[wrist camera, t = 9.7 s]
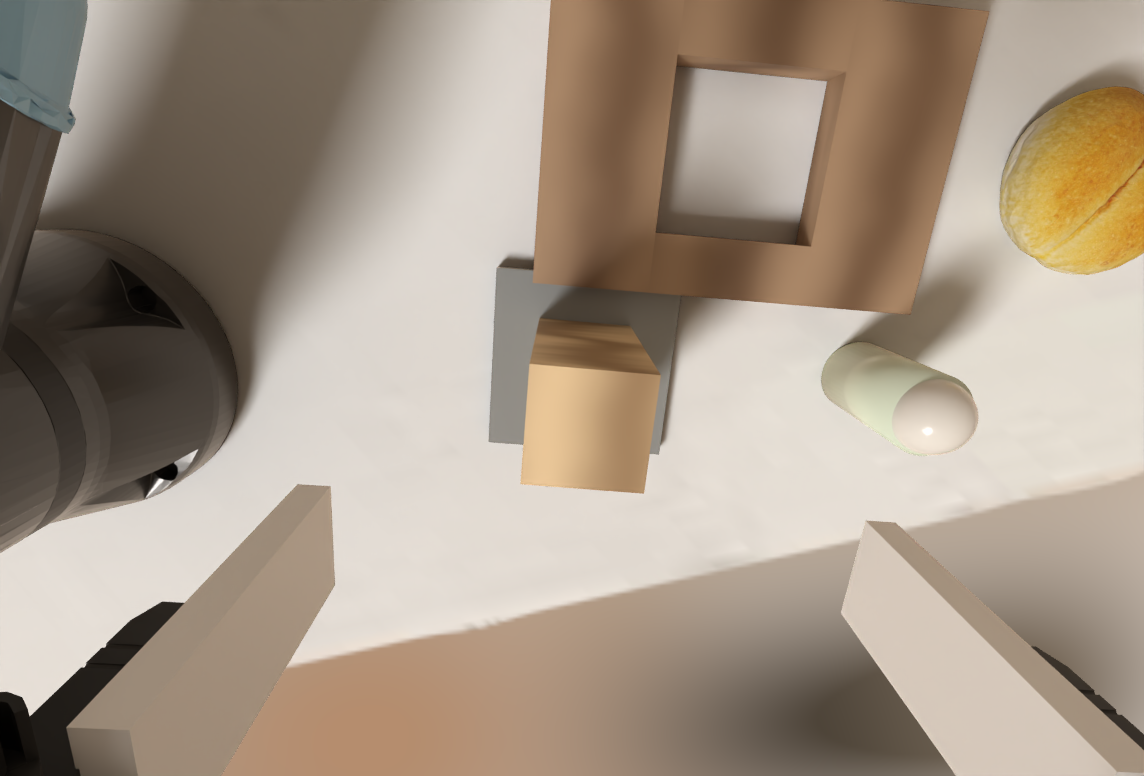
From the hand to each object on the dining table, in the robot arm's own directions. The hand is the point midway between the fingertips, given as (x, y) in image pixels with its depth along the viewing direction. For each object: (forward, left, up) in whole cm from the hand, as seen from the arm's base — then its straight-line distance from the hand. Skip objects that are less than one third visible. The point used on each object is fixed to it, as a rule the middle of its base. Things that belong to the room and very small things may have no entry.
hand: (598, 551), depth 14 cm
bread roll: (+26, +12, -20) cm, 34 cm away
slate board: (0, 0, -19) cm, 19 cm away
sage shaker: (+16, 0, -19) cm, 25 cm away
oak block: (0, 0, -19) cm, 19 cm away
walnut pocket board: (+7, +11, -19) cm, 24 cm away
